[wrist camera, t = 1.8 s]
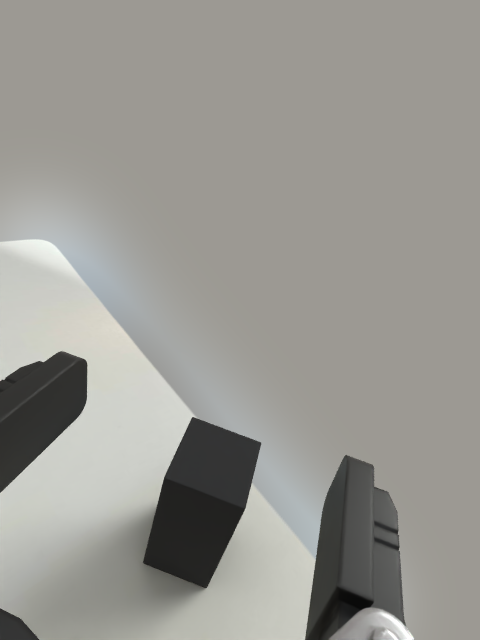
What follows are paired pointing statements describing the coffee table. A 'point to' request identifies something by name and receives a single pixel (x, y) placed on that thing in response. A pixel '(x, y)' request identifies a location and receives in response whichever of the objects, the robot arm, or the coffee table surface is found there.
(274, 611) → the coffee table surface
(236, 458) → the tall black rectangular block
